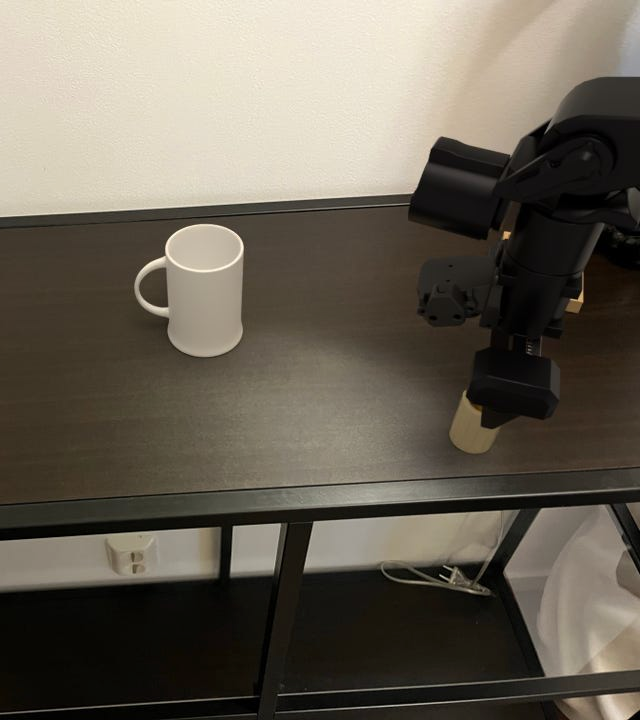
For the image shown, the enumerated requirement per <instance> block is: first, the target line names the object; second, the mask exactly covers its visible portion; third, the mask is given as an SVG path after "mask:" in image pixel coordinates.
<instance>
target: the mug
mask: <svg viewBox="0 0 640 720" xmlns="http://www.w3.org/2000/svg"><path fill="white" fill-rule="evenodd" d="M244 247H245V246H244V243H243V240H242V238H241V237H240V236H239V235H238V234H237V233H236V232H235V231H233V230H232V229H229V228H227V227H226V226H222V225H218V224H210V223H200V224H194V225H193V224H192V225H189V226H186V227H183V228H181V229H179V230H177V231H175V232H174V233H173V234H172V235H171V236H170V237H169V238H168V239H167V241H166V243H165V249H164V250H165V251H164V252H165V255H164V256H162V257H160V258H156V259H155V260H152V261H150V262H148V263H147V264H146V265H145V266H144V267H143V268H142V269H140V271H139V272H138V274H137V276H136V278H135V280H134V294H135V298H136V300H137V302H138V303H139V305H140V306H141V307H142V308H144V309H145V310H146V311H147V312H149V313H151V314H153V315H156V316H158V317H164V318H167V319H168V325H167V336H168V339H169V341H170V343H171V344H172V345H173V347H175V348H176V349H177V350H178V351H180V352H182V353H183V354H186V355H188V356H192V357H198V358H213V357H218V356H221V355H224V354H226V353H228V352H230V351H231V350H234V349H235V347H236V346H237V345H238V344H239V343H240V341H241V339H242V337H243V332H244V330H243V329H244V327H243V323H242V306H243V305H242V303H243V277H244V253H245V251H244V250H245V249H244ZM158 269H166V270H165V271H166V287H167V307H160V306H157V305H154V304H151V303H149V302H148V301H146V300H145V298H143V296H142V295H141V292H140V284H141V281H142V280H143V279H144V278H145V276H147V275H148V274H150V273H151V272H153V271H155V270H158Z"/></svg>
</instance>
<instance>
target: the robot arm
mask: <svg viewBox="0 0 640 720" xmlns="http://www.w3.org/2000/svg"><path fill="white" fill-rule="evenodd" d="M420 175H421V176H420V178H419V181H418V183H417V187H416V188H415V189H414V191H413V193H412V194H411V197H410V201H409V205H408V211H407V220H408V221H409V222H412V223H416V224H418V225H422V226H426V227H430V228H433V229H436V230H441V231H444V232H448V233H450V234H455V235H459V236H462V237H465V238H469V239H472V240H476V241H487V240H488V238H489V236H490V233H491V231H495V232H501V231H502V229H503V227H504V224H506V223H505V222H506V220H507V218H508V215H509V213H510V211H511V208H512V205H513V203H514V202H515V203H518V204H520V205H519V208H518V210H517V213H516V216H515V219H514V222H513V225H512V227H511V231H510V232H511V233H510V236H509V239H507V238H505V239H503V240H502V239H500V240H499V241H497V242H495V243H492V244H490V245H489V248H488V251H487V254H486V255H478V254H462V255H451V256H441V257H440V256H439V257H431V258H429V259H428V258H427V259H426V260H424V261H423V262H422V264H421V266H420V269H419V274H418V278H417V282H416V293H417V298H418V304H417V309H416V313H417V315H418V316H420V317H422V319H423V320H424V321H426V323H427V324H428V326H431V327H432V328H447V327H461V326H463V324H465V323H466V320H467V319H473V318H476V317H479V316H480V317H479V321H478V328H481V329H482V328H483V329H488V330H491V331H490V341H489V345H488V346H486V347H483V348H480V349H478V350H475V351H474V354H473V357H472V359H471V363H470V367H469V371H468V376H467V383H466V389H465V390H466V396H465V397H466V398H467V399H468V400H469V401H470V402H471V403H472V404H475V405H479V406H482V411H481V423H480V426H481V427H483V428H487V429H495V428H497V427H499V426H501V427H502V426H504V425H505V424H507V423H510V422H511V421H513V420H516V419H517V418H519V417H522V416H523V417H526V418H531V419H535V420H540V421H545V420H547V419H550V418H552V416H553V414H554V412H555V410H556V408H557V406H558V405H559V402H560V397H561V395H560V394H561V393H560V391H561V369H560V367H559V365H557V363H556V362H555V361H554V360H553V359H552V358H551V357H546V356H542V344H543V343H542V340H543V337H546V338H551V339H556V340H560V339H561V337H562V335H563V333H564V330H565V312H566V311H565V310H566V308H567V306H568V304H569V301H570V299H575V300H578V299H579V296H580V294H581V292H582V290H583V291H584V271H585V268H586V266H587V264H588V262H589V260H590V258H591V256H592V254H593V251H594V249H595V246H596V245H597V242H598V240H599V238H600V236H601V234H602V232H603V230H604V227H605V225H609V226H612V227H616V228H621V229H623V230H627V231H634V230H636V229H637V228H638V227H639V224H640V191H639V190H638V189H637V188H639V187H640V76H599V77H595V78H591V79H587V80H584V81H582V82H581V83H578V84H576V85H575V86H574V87H573V89H571V90H570V91H569V92H568V93H567V94H566V95H565V96H564V97H563V98H562V100H560V102H559V104H558V107H557V108H556V110H555V113H554V114H553V116H551V117H550V118H549V119H547V120H546V121H544V122H543V123H542V124H540V125H539V126H537V127H535V128H534V129H533V130H530V131H529V132H528V133H527V134H525V135H524V136H522V137H521V138H520V139H519V141H518V142H517V145H516V146H515V148H514V150H513V152H512V153H511V154H510V153H504V152H501V151H496V150H493V149H487V148H484V147H479V146H475V145H470V144H466V143H464V142H463V141H460V140H458V139H456V138H452V137H446V136H438V138H437V139H436V141H435V142H434V143H433V145H432V147H431V148H430V150H429V154H428V158H427V162H426V164H425V166H424V168H423V171H422V173H421V174H420Z"/></svg>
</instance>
